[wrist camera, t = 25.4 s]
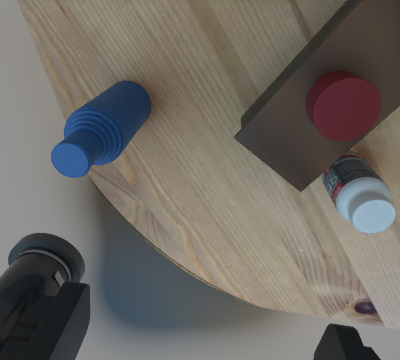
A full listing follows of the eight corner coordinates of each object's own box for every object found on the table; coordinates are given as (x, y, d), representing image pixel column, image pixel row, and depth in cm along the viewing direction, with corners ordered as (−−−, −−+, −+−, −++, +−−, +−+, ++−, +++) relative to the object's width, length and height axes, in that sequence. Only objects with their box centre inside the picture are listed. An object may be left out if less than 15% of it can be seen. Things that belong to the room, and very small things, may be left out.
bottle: (135, 133, 40) (83, 203, 26) (98, 106, 39) (23, 164, 24) (159, 101, 38) (117, 157, 24) (121, 71, 36) (54, 111, 22)
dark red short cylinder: (309, 70, 29) (318, 77, 26) (372, 69, 28) (388, 76, 25) (301, 129, 31) (308, 141, 28) (359, 129, 31) (372, 141, 28)
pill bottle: (315, 160, 40) (339, 203, 31) (361, 144, 38) (400, 185, 30) (326, 196, 42) (351, 246, 33) (370, 183, 40) (409, 230, 32)
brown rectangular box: (290, 165, 40) (300, 192, 34) (233, 118, 38) (234, 138, 32) (414, 49, 33) (453, 58, 27) (353, -17, 31) (382, -22, 25)
